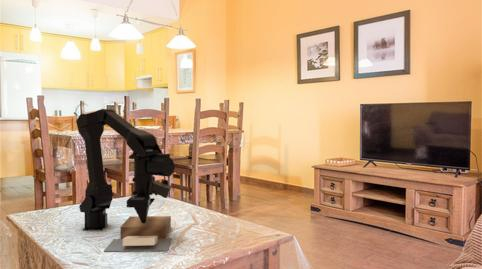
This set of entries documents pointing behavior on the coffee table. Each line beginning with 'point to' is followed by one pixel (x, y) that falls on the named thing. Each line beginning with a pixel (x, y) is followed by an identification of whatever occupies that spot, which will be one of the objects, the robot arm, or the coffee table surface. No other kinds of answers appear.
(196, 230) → the coffee table surface
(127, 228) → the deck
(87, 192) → the robot arm
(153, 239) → the cream rectangular block
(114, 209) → the coffee table surface
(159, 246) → the mat
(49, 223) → the coffee table surface
